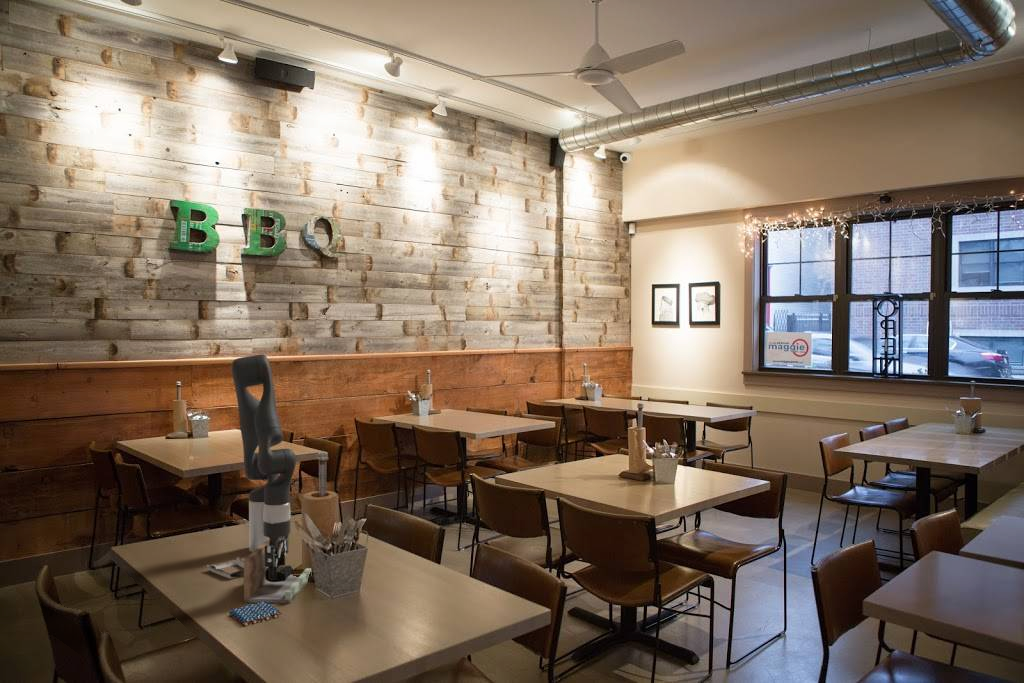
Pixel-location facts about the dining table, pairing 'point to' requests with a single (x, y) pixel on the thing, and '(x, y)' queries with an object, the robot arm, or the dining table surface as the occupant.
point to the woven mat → (255, 613)
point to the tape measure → (280, 573)
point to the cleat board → (264, 590)
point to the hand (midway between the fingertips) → (276, 574)
